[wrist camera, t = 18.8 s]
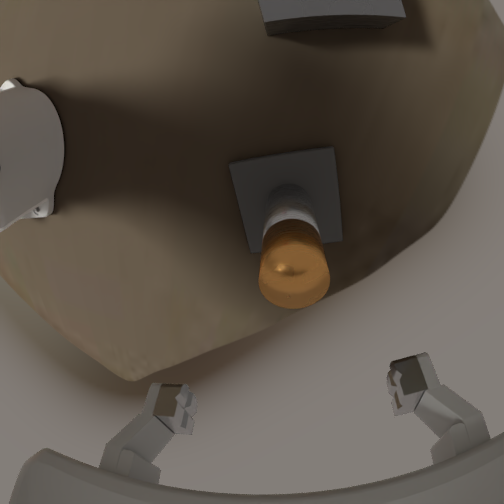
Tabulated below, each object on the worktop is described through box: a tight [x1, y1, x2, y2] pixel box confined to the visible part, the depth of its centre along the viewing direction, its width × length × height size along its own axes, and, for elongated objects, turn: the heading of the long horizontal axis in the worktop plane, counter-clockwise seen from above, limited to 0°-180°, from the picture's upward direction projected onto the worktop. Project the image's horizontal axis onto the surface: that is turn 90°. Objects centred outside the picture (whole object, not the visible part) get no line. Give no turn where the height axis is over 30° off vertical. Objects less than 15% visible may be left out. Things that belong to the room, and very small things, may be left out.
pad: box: [229, 146, 343, 253], centre depth 25 cm, size 9×9×1 cm
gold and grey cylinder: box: [259, 184, 330, 309], centre depth 20 cm, size 4×4×11 cm
